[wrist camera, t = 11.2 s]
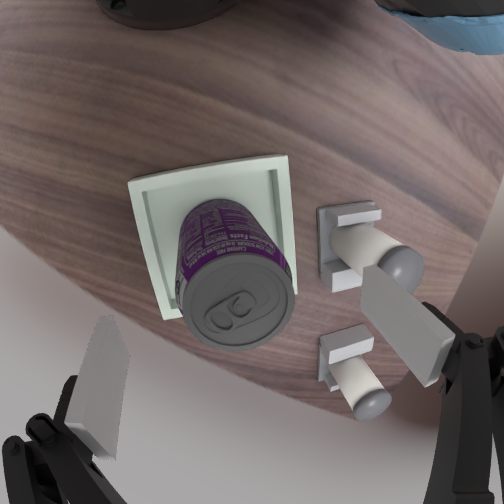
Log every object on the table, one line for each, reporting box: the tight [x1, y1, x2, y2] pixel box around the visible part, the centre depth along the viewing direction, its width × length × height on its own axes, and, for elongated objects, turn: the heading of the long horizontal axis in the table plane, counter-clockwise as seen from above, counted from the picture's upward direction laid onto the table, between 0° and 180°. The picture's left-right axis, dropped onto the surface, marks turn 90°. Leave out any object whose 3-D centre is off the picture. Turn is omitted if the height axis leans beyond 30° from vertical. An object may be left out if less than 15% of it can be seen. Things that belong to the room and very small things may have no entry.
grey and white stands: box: [317, 200, 424, 421], centre depth 29 cm, size 24×6×10 cm, turn 7°
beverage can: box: [175, 199, 295, 351], centre depth 21 cm, size 7×7×12 cm
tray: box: [127, 154, 297, 320], centre depth 26 cm, size 13×13×2 cm
